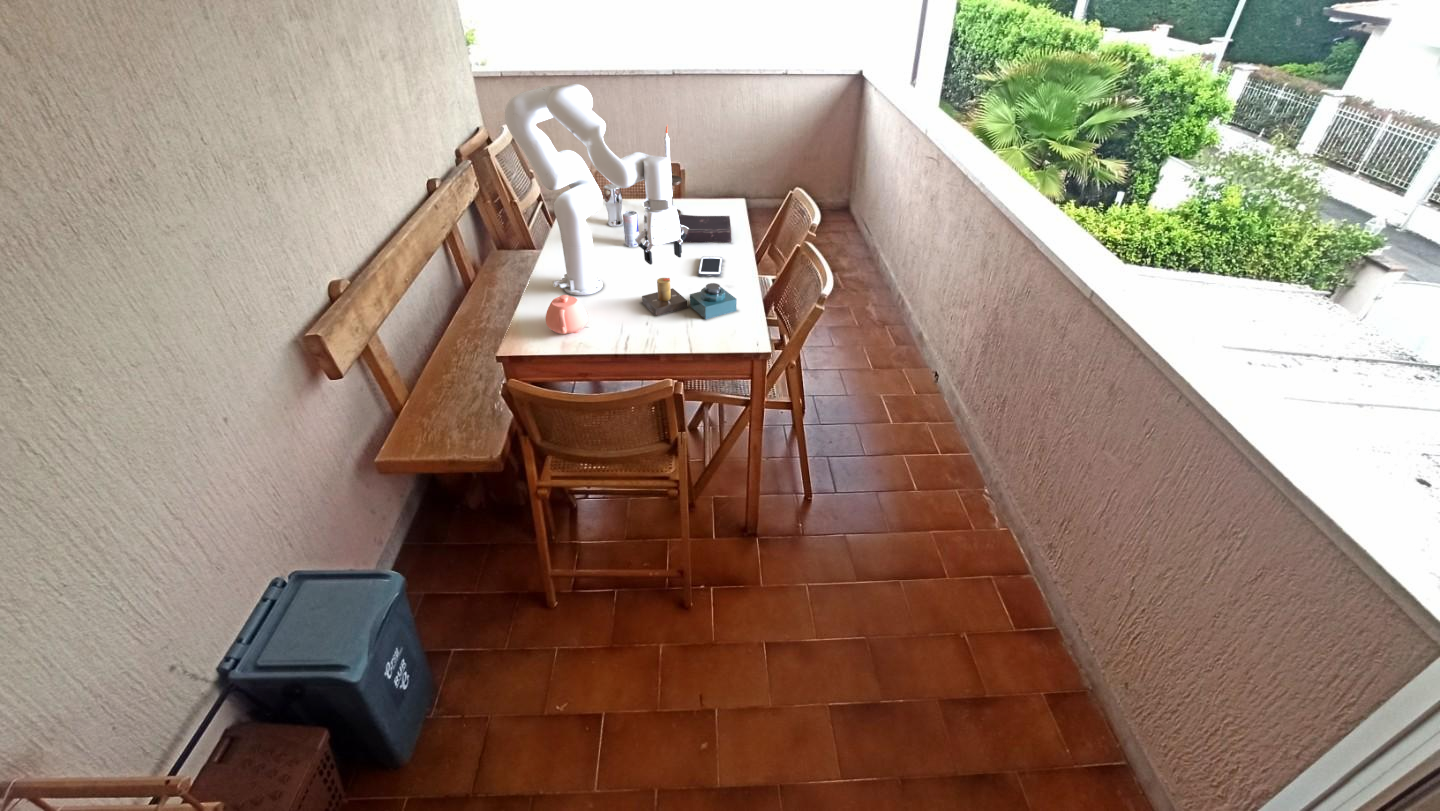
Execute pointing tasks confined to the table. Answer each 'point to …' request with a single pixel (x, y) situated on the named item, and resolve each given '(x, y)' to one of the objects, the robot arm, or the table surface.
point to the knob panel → (664, 303)
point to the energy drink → (630, 228)
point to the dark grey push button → (712, 289)
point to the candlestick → (675, 179)
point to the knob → (664, 289)
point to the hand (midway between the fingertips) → (663, 259)
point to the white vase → (613, 204)
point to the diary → (706, 228)
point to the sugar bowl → (566, 315)
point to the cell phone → (710, 266)
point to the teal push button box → (712, 303)
